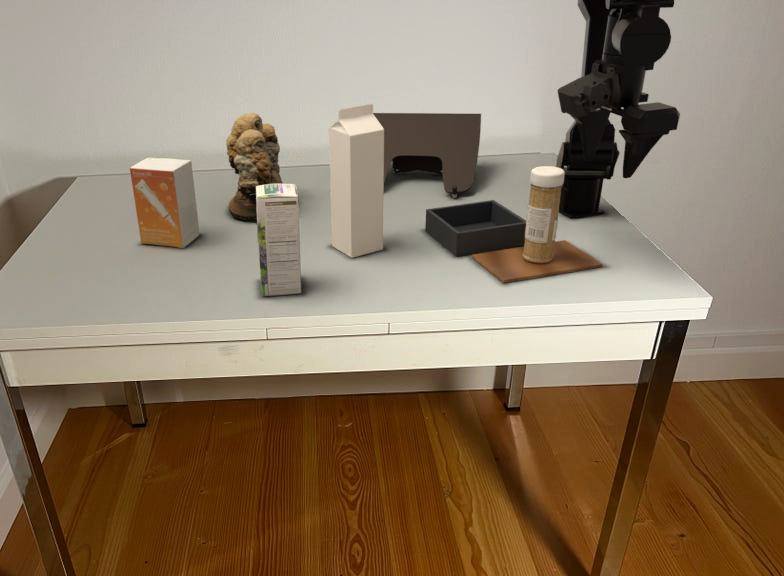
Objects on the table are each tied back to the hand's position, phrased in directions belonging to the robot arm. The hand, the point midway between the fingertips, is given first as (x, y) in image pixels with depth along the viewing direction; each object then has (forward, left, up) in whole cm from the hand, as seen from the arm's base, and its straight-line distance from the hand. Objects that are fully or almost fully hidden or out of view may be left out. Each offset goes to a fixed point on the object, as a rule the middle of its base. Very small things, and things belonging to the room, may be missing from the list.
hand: (606, 168), depth 108 cm
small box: (+61, -30, -13) cm, 69 cm away
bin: (+14, -12, -13) cm, 22 cm away
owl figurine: (+43, -40, -13) cm, 60 cm away
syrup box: (+48, -5, -13) cm, 50 cm away
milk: (+33, -15, -13) cm, 38 cm away
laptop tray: (+11, -43, -13) cm, 46 cm away
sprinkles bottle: (+10, 0, -13) cm, 16 cm away
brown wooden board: (+10, 0, -13) cm, 16 cm away
